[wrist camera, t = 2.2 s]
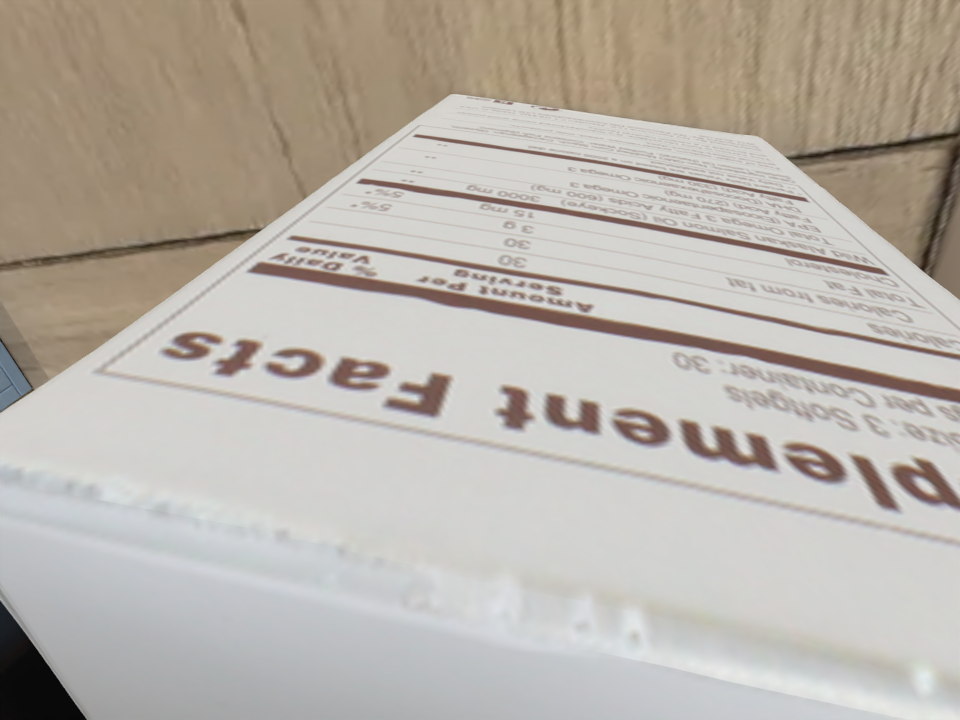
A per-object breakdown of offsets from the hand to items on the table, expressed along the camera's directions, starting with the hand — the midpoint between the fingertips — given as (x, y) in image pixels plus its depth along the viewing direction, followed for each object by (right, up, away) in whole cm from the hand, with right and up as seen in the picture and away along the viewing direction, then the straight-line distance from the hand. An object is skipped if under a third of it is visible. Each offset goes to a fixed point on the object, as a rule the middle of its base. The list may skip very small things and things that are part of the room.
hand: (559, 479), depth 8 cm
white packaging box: (+1, +5, +7) cm, 8 cm away
